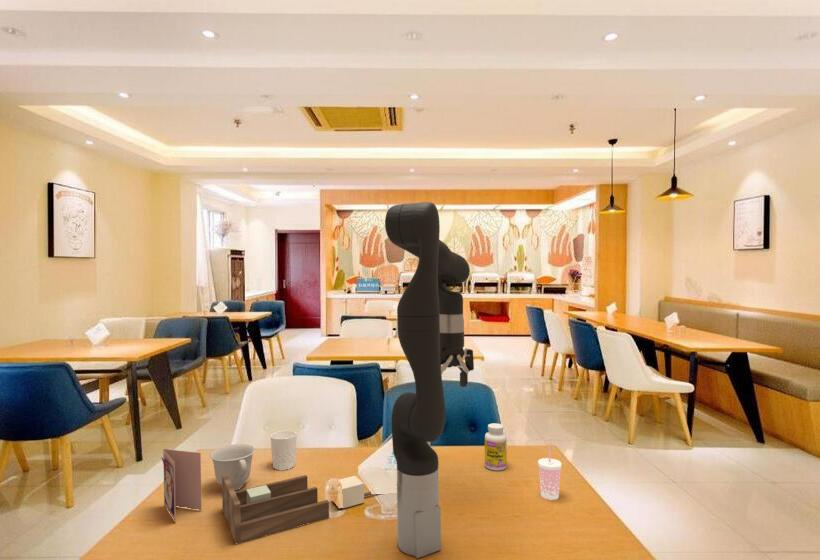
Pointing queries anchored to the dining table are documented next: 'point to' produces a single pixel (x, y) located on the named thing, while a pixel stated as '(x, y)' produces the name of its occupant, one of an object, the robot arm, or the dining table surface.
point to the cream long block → (353, 491)
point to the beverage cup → (549, 477)
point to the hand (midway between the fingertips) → (451, 388)
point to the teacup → (233, 463)
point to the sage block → (257, 494)
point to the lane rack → (271, 508)
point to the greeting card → (181, 480)
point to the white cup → (283, 449)
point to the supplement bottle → (495, 447)
